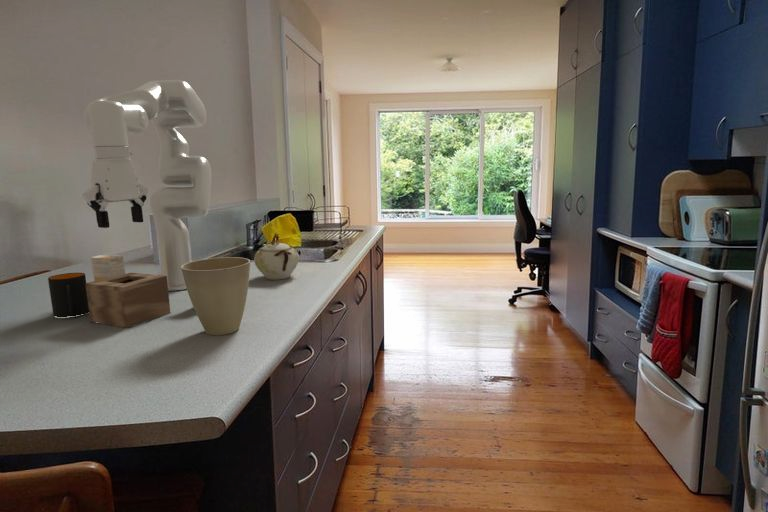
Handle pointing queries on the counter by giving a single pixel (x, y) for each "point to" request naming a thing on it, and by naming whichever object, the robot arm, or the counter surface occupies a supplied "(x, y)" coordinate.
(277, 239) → the sugar bowl
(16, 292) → the counter surface
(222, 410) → the counter surface
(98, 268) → the supplement box
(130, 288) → the box
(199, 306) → the plant pot
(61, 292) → the mug
